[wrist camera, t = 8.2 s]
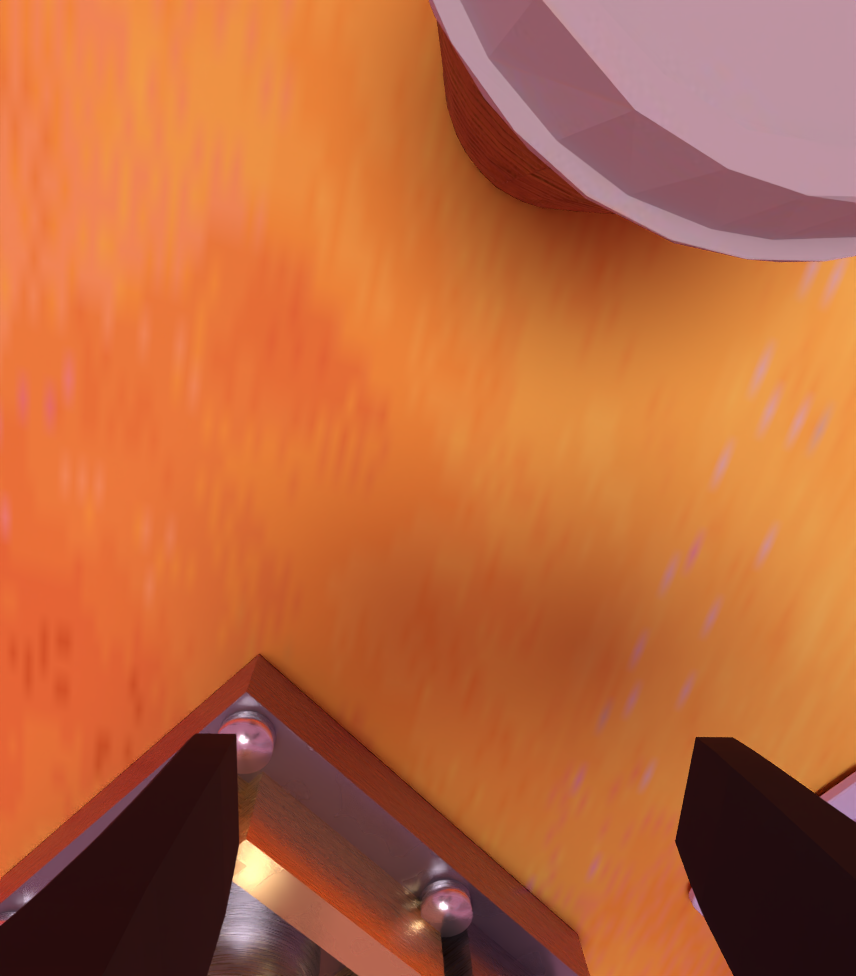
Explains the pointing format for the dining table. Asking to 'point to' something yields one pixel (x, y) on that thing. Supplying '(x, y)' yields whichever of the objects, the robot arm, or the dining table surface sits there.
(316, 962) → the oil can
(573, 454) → the dining table surface
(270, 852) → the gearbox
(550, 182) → the disposable coffee cup
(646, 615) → the dining table surface
